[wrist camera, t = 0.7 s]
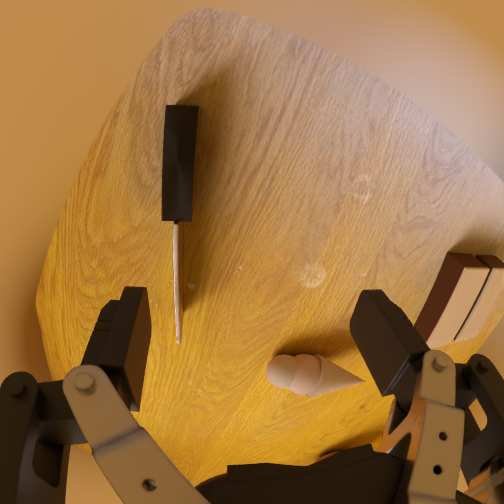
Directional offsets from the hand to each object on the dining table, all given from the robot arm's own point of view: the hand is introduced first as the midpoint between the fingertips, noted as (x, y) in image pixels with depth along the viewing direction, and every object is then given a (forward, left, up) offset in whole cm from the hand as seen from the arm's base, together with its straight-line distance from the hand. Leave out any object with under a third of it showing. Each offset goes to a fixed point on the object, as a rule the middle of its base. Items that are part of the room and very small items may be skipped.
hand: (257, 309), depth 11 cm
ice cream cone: (+24, +14, -18) cm, 33 cm away
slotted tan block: (+13, +37, -18) cm, 43 cm away
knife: (+4, -4, -18) cm, 19 cm away
